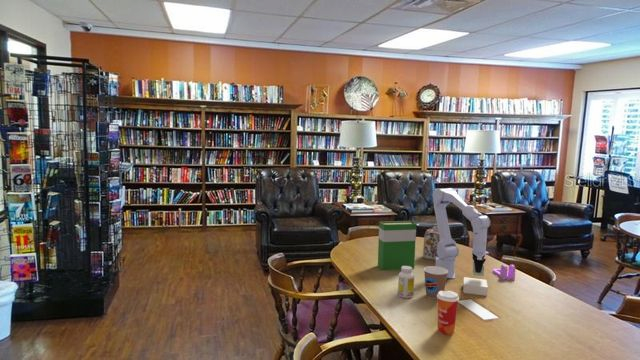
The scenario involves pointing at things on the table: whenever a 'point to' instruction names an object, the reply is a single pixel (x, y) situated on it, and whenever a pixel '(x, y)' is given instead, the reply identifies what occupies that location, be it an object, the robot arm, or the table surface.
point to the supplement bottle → (406, 282)
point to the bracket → (505, 272)
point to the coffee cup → (434, 280)
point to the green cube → (478, 273)
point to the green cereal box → (396, 244)
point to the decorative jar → (431, 243)
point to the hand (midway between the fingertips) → (477, 270)
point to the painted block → (475, 286)
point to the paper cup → (447, 311)
